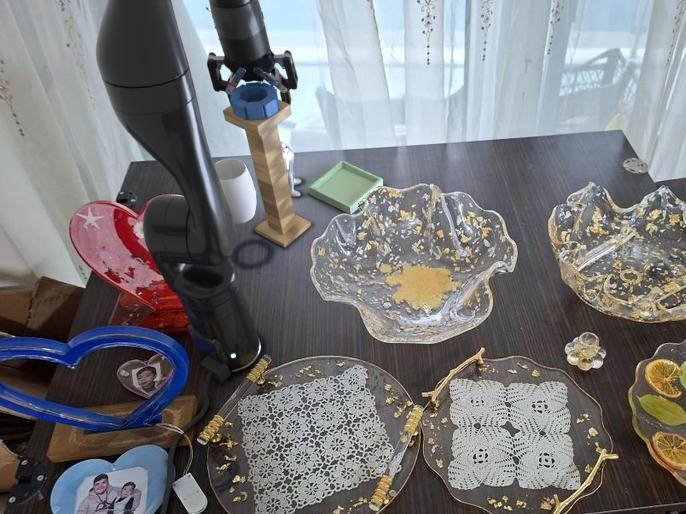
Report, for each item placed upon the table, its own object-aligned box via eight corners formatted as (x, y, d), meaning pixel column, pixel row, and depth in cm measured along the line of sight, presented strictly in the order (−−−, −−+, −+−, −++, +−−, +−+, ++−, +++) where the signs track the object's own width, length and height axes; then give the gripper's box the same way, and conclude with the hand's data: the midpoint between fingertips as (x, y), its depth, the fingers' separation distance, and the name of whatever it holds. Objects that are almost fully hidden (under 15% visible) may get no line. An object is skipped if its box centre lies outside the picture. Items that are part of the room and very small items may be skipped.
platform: (284, 248, 122) (257, 126, 100) (255, 232, 125) (222, 110, 103) (311, 225, 126) (290, 104, 104) (282, 210, 129) (255, 89, 107)
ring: (257, 125, 100) (254, 112, 99) (224, 110, 103) (220, 97, 101) (288, 104, 104) (286, 91, 103) (255, 90, 107) (253, 77, 105)
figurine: (300, 199, 131) (291, 152, 122) (280, 199, 131) (270, 153, 122) (302, 178, 136) (293, 131, 126) (282, 178, 136) (273, 132, 126)
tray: (350, 215, 129) (350, 207, 127) (309, 194, 132) (308, 186, 131) (383, 186, 135) (382, 178, 133) (342, 167, 138) (342, 159, 137)
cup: (234, 270, 118) (205, 185, 102) (233, 244, 123) (206, 158, 106) (272, 264, 119) (250, 180, 103) (270, 239, 124) (248, 154, 107)
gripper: (190, 38, 94) (220, 122, 107) (283, 36, 94) (301, 120, 108) (197, 9, 97) (225, 94, 111) (286, 7, 98) (303, 92, 112)
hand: (262, 107), depth 110 cm, fingers open, 8 cm apart
